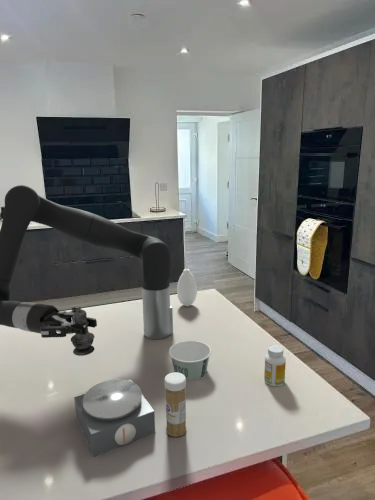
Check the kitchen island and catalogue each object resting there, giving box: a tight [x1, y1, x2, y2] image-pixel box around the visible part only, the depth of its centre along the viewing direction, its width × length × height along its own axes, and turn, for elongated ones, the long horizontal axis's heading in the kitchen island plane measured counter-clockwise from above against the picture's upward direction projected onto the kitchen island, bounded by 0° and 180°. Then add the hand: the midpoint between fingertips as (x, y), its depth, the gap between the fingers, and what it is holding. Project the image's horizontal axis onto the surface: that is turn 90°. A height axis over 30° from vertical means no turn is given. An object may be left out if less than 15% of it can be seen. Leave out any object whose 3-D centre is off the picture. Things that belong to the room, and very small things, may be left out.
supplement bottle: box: [263, 344, 286, 387], centre depth 101 cm, size 5×5×10 cm
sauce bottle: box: [176, 263, 198, 307], centre depth 152 cm, size 8×8×18 cm
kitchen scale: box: [73, 379, 156, 457], centre depth 86 cm, size 14×15×5 cm
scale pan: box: [83, 379, 143, 421], centre depth 85 cm, size 13×13×3 cm
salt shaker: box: [70, 306, 95, 357], centre depth 95 cm, size 6×6×12 cm
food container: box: [168, 340, 212, 381], centre depth 107 cm, size 12×12×6 cm
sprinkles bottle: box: [164, 371, 187, 438], centre depth 83 cm, size 5×5×14 cm
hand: (90, 326), depth 94 cm, fingers closed on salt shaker, 3 cm apart
